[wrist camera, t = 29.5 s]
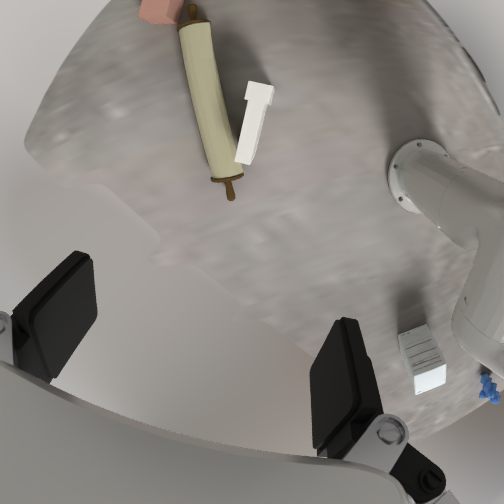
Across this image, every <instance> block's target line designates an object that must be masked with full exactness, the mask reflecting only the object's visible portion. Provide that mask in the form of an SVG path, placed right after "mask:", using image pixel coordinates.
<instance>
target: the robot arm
mask: <svg viewBox="0 0 504 504" xmlns="http://www.w3.org/2000/svg"><path fill="white" fill-rule="evenodd" d="M417 143H418V145H417ZM394 164H395V167H394ZM388 184H389V188H390V191H391V194H392V196H393V197H394V199H395V200H396V201H397V203H398V204H399V205H400V206H402V207H403V208H404V209H406V210H407V211H410V212H412V213H418V214H422V213H423V214H424V215H425V216H426V217H427V218H428V219H430V220H431V221H432V222H433V223H434V224H435V225H436V226H437V227H438V228H439V229H440V230H441V231H442V232H443V233H444V234H445V235H446V236H447V237H449V238H450V239H451V240H452V241H453V242H454V243H455V244H456V245H458V246H460V247H462V248H464V249H468V250H477V253H476V256H475V258H474V261H473V266H472V268H471V271H470V273H469V276H468V278H467V281H466V283H465V286H464V288H463V290H462V293H461V295H460V297H459V299H458V302H457V304H456V306H455V309H454V312H453V315H452V321H451V327H452V332H453V335H454V337H455V339H456V340H457V342H458V343H459V345H460V346H461V347H462V348H463V349H464V350H465V351H466V352H467V353H468V354H469V355H471V356H472V357H473V358H475V359H476V360H477V361H479V362H480V363H481V364H483V365H484V366H486V367H487V368H489V369H490V370H491V371H493V372H494V373H496V374H497V375H499V376H500V377H501V378H503V379H504V182H501V181H499V180H497V179H495V178H492V177H490V176H488V175H486V174H484V173H482V172H480V171H477V170H475V169H473V168H471V167H469V166H467V165H464V164H462V163H460V162H458V161H455V160H453V159H451V158H450V157H449V155H448V153H447V152H446V151H445V149H444V148H442V147H441V146H440V145H439V144H437V143H435V142H433V141H430V140H426V139H415V140H411V141H409V142H407V143H405V144H404V145H403V146H401V147H400V148H399V149H398V150H397V151H396V153H395V154H394V156H393V158H392V160H391V162H390V165H389V170H388ZM399 197H400V198H399ZM398 198H399V199H398ZM96 318H97V303H96V294H95V284H94V270H93V261H92V259H90V256H89V254H86V253H83V252H80V251H74V252H72V254H70V255H69V256H68V257H67V258H66V259H65V260H64V261H62V262H61V263H60V264H59V265H58V266H57V267H56V268H55V269H54V270H53V271H52V272H51V273H50V274H49V275H47V277H45V278H44V279H43V280H42V281H41V282H40V283H39V284H38V285H37V286H36V287H35V288H34V289H33V290H32V291H31V292H30V293H29V294H28V295H27V296H26V297H25V298H24V299H23V300H22V301H21V302H20V303H19V304H18V306H16V307H15V309H14V310H13V314H12V315H11V316H9V315H8V314H7V313H6V312H3V311H0V504H460V503H459V502H458V500H457V499H456V498H455V496H454V495H453V494H452V492H451V491H450V490H448V491H446V490H445V486H446V478H445V475H444V473H443V471H442V470H441V469H440V468H439V467H438V466H437V465H436V464H434V463H433V462H431V461H430V460H429V459H428V458H427V457H425V456H424V455H423V454H421V453H420V452H419V451H417V450H416V449H415V448H414V447H412V446H411V445H410V444H409V443H408V439H409V431H408V428H407V426H406V424H405V423H404V421H402V420H401V419H400V418H399V417H397V416H395V415H392V414H384V412H383V408H382V403H381V399H380V395H379V390H378V386H377V382H376V378H375V374H374V370H373V366H372V362H371V359H370V358H369V357H368V356H367V353H366V349H365V345H364V341H363V338H362V334H361V330H360V327H359V323H358V321H357V320H356V319H351V318H346V317H342V318H341V319H340V320H336V321H335V322H334V324H333V326H332V328H331V330H330V332H329V334H328V336H327V338H326V340H325V342H324V344H323V346H322V348H321V350H320V351H319V353H318V355H317V357H316V359H315V361H314V363H313V364H312V366H311V369H310V392H311V412H312V436H313V437H312V438H313V439H312V440H313V448H314V449H317V456H318V457H309V456H299V455H290V454H282V453H275V452H268V451H261V450H254V449H248V448H242V447H236V446H231V445H226V444H221V443H217V442H212V441H207V440H203V439H199V438H195V437H191V436H187V435H183V434H179V433H175V432H172V431H169V430H165V429H162V428H158V427H155V426H152V425H149V424H146V423H143V422H139V421H137V420H134V419H131V418H128V417H125V416H122V415H120V414H117V413H114V412H112V411H109V410H106V409H104V408H101V407H99V406H96V405H94V404H92V403H89V402H87V401H85V400H82V399H80V398H78V397H75V396H73V395H71V394H69V393H67V392H65V391H62V390H60V389H58V388H56V387H54V386H52V385H50V382H51V380H52V379H53V378H57V376H58V375H59V374H60V372H61V370H62V369H63V367H64V366H65V364H66V363H67V361H68V360H69V358H70V357H71V355H72V354H73V352H74V351H75V349H76V348H77V346H78V345H79V343H80V342H81V340H82V339H83V337H84V336H85V334H86V333H87V332H88V330H89V329H90V327H91V326H92V324H93V323H94V322H95V320H96ZM38 378H39V379H38ZM320 457H327V458H320Z"/></svg>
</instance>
